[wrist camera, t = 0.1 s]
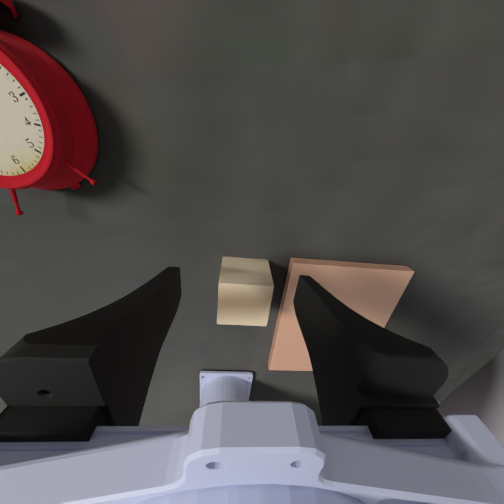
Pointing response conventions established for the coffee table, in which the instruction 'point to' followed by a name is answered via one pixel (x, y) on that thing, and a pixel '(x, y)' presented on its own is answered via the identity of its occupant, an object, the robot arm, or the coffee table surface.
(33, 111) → the alarm clock
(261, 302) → the maple cube
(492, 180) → the coffee table surface
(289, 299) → the terracotta tile
